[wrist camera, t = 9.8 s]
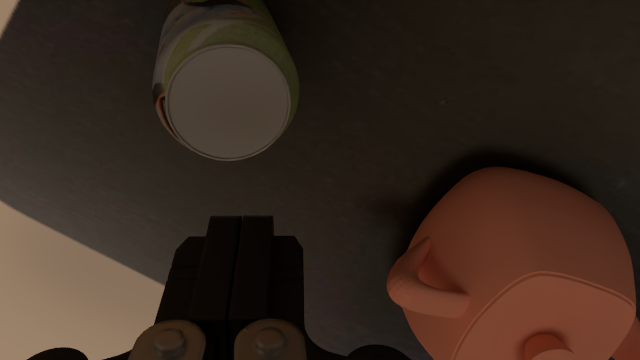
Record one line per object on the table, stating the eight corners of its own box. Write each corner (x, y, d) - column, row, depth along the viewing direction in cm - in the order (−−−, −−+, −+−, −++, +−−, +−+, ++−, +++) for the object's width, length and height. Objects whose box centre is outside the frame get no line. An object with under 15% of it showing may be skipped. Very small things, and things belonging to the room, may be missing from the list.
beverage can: (147, 0, 32) (77, 81, 22) (268, -57, 31) (254, 1, 20) (203, 97, 35) (165, 208, 25) (315, 49, 34) (323, 145, 23)
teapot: (558, 335, 47) (632, 480, 36) (331, 264, 42) (343, 407, 32) (669, 208, 40) (799, 339, 30) (418, 108, 36) (468, 222, 25)
